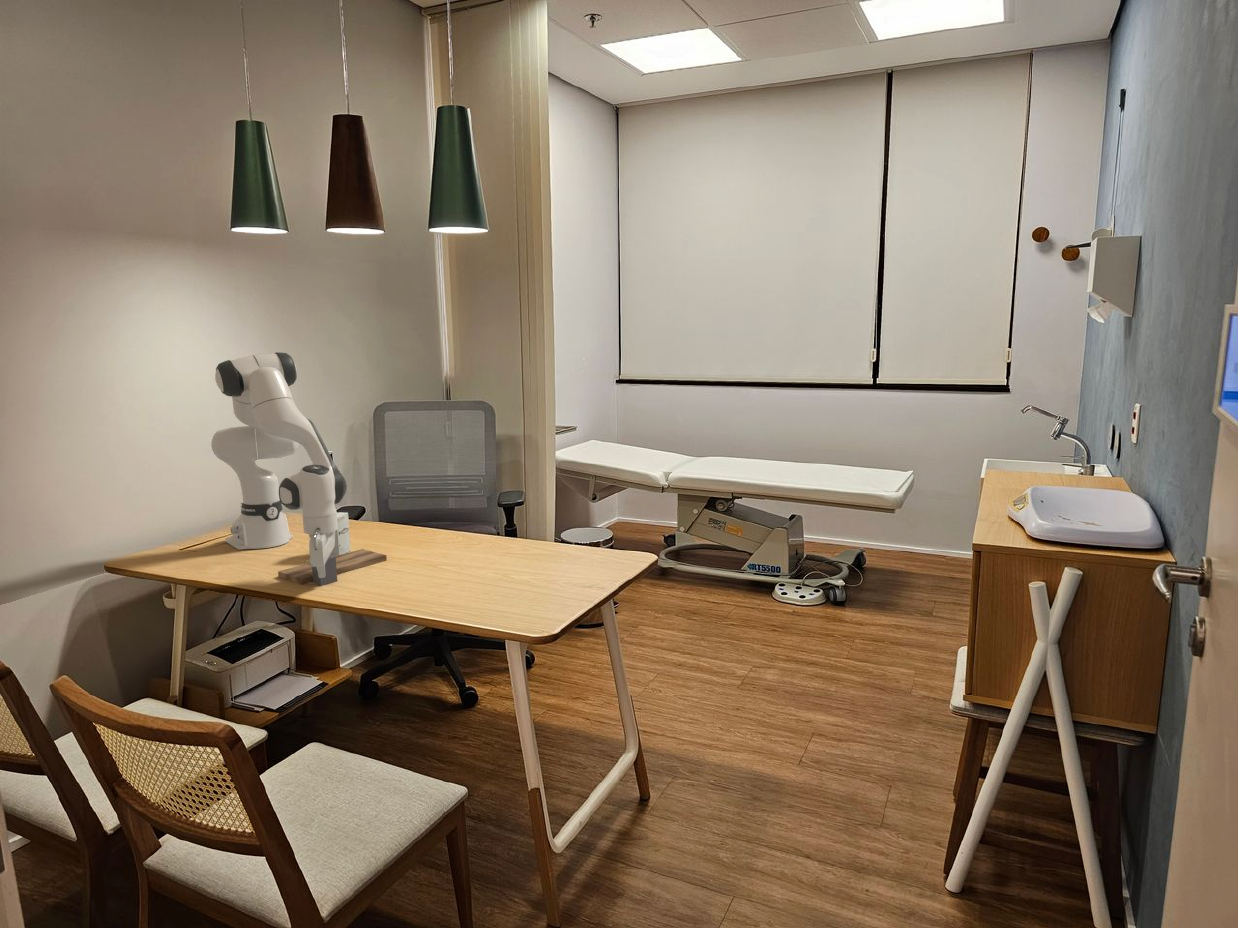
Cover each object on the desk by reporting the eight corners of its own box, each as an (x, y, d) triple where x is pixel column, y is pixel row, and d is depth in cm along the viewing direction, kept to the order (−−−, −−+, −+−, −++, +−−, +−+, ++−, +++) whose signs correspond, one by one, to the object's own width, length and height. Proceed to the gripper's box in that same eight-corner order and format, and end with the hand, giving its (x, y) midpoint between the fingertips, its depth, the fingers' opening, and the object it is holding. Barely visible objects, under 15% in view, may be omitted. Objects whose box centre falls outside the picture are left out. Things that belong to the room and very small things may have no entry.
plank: (278, 576, 230) (277, 571, 229) (362, 553, 251) (362, 548, 251) (301, 584, 222) (301, 578, 222) (386, 560, 244) (386, 554, 244)
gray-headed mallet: (301, 579, 227) (299, 555, 226) (317, 574, 231) (315, 551, 230) (321, 585, 221) (319, 561, 220) (337, 581, 225) (335, 556, 224)
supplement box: (339, 557, 248) (336, 517, 246) (317, 556, 249) (314, 516, 247) (351, 551, 255) (348, 512, 253) (330, 550, 256) (327, 511, 254)
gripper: (326, 533, 212) (331, 583, 214) (337, 515, 232) (341, 561, 234) (301, 534, 211) (306, 585, 213) (314, 516, 230) (318, 563, 233)
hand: (324, 572), depth 224 cm, fingers closed on gray-headed mallet, 6 cm apart
